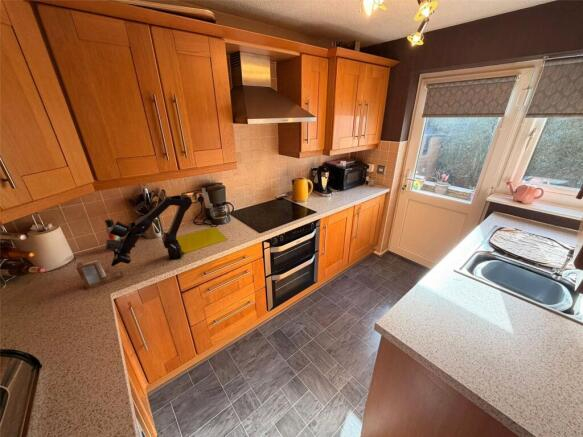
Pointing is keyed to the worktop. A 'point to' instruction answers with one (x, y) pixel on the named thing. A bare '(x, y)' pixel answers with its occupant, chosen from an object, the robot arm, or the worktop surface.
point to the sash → (98, 267)
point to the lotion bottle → (109, 224)
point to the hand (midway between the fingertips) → (112, 265)
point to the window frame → (94, 275)
